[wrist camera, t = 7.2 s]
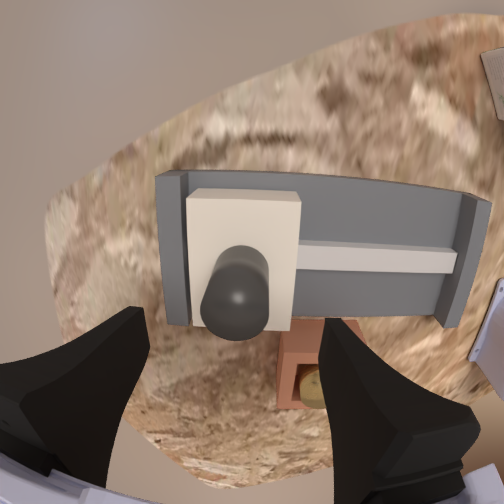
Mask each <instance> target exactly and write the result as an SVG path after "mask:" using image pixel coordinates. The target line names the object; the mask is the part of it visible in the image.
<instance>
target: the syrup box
mask: <svg viewBox="0 0 504 504" xmlns="http://www.w3.org/2000/svg"><path fill="white" fill-rule="evenodd" d="M481 58H482V61H483V65H484V68H485V72H486V75H487V79H488V82H489V86H490V89H491V93H492V97H493V101H494V105H495V109H496V113H497V117H498V119H499V120H504V47H501V48H498V49H494V50H490V51H486V52H483V53H481Z"/></svg>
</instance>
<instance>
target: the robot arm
mask: <svg viewBox="0 0 504 504" xmlns="http://www.w3.org/2000/svg"><path fill="white" fill-rule="evenodd" d="M149 350H150V343H149V338H148V332H147V327H146V321H145V316H144V310H143V307H134V306H129V307H127V308H125V309H123V310H122V311H120V312H119V313H117V314H115V315H114V316H112V317H111V318H109V319H108V320H106V321H104V322H103V323H101V324H100V325H98V326H97V327H95V328H93V329H92V330H90V331H88V332H87V333H85V334H83V335H81V336H80V337H78V338H76V339H74V340H72V341H71V342H68V343H66V344H64V345H62V346H60V347H58V348H56V349H53V350H50V351H48V352H45V353H42V354H39V355H37V356H34V357H30V358H27V359H23V360H19V361H15V362H10V363H3V364H0V504H161V503H156V502H152V501H148V500H144V499H140V498H136V497H132V496H128V495H125V494H121V493H118V492H114V491H111V490H108V489H105V488H106V481H107V474H108V468H109V463H110V458H111V453H112V449H113V445H114V441H115V437H116V433H117V430H118V427H119V423H120V420H121V417H122V414H123V412H124V409H125V407H126V405H127V402H128V400H129V398H130V396H131V394H132V392H133V390H134V388H135V385H136V383H137V381H138V379H139V377H140V375H141V373H142V371H143V368H144V366H145V363H146V360H147V357H148V353H149ZM468 360H469V361H470V362H473V361H475V362H476V363H477V365H478V366H479V368H480V369H481V370H482V372H483V373H484V375H485V376H486V378H487V379H488V381H489V382H490V384H491V385H492V387H493V388H494V390H495V391H496V393H497V394H498V396H499V397H500V398H501V399H502V400H503V401H504V278H501V279H500V280H499V281H498V284H497V287H496V290H495V293H494V296H493V298H492V301H491V304H490V307H489V309H488V312H487V315H486V317H485V320H484V322H483V325H482V327H481V330H480V332H479V334H478V337H477V339H476V341H475V343H474V346H473V348H472V350H471V352H470V354H469V356H468ZM318 366H319V377H320V383H321V387H322V392H323V396H324V401H325V405H326V410H327V414H328V419H329V423H330V429H331V438H332V450H333V467H334V504H504V486H503V483H502V481H501V479H500V476H499V474H498V472H497V469H496V467H495V465H494V464H489V465H487V466H484V467H482V468H480V469H477V470H474V471H472V472H470V473H468V474H466V475H465V476H463V477H462V476H461V473H460V470H461V469H462V468H463V463H462V461H461V458H462V457H463V456H464V454H465V453H466V452H467V451H468V450H469V449H470V447H471V446H472V445H473V444H474V442H475V441H476V439H477V438H478V436H479V433H480V430H481V429H480V424H479V422H478V421H477V419H476V417H475V415H474V413H473V411H472V410H471V408H470V407H469V406H466V405H463V404H460V403H457V402H454V401H451V400H448V399H446V398H443V397H441V396H439V395H437V394H435V393H432V392H430V391H428V390H426V389H424V388H423V387H421V386H419V385H417V384H416V383H414V382H412V381H411V380H409V379H407V378H406V377H404V376H403V375H401V374H400V373H399V372H397V371H396V370H395V369H393V368H392V367H390V366H389V365H388V364H387V363H385V362H384V361H383V360H382V359H381V358H380V357H379V356H377V355H376V354H375V353H374V352H373V351H372V350H371V349H370V348H369V347H368V346H367V345H366V344H365V343H364V342H363V341H362V340H361V339H360V338H359V337H358V336H357V335H356V334H355V333H354V332H353V331H352V330H351V329H350V328H349V326H348V325H347V324H346V323H345V322H344V321H343V320H342V319H341V318H325V323H324V328H323V334H322V339H321V344H320V349H319V354H318Z"/></svg>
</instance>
